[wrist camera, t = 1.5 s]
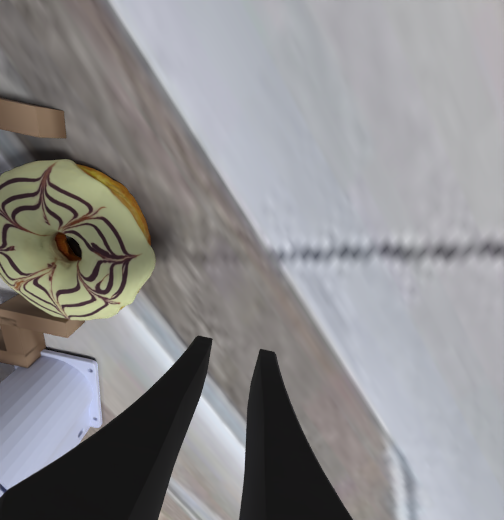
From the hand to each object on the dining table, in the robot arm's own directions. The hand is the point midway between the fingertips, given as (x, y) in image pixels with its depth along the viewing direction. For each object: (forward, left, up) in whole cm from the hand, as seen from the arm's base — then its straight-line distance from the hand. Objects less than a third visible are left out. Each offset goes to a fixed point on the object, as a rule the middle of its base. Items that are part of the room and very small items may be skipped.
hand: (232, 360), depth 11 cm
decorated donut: (0, +12, -9) cm, 15 cm away
